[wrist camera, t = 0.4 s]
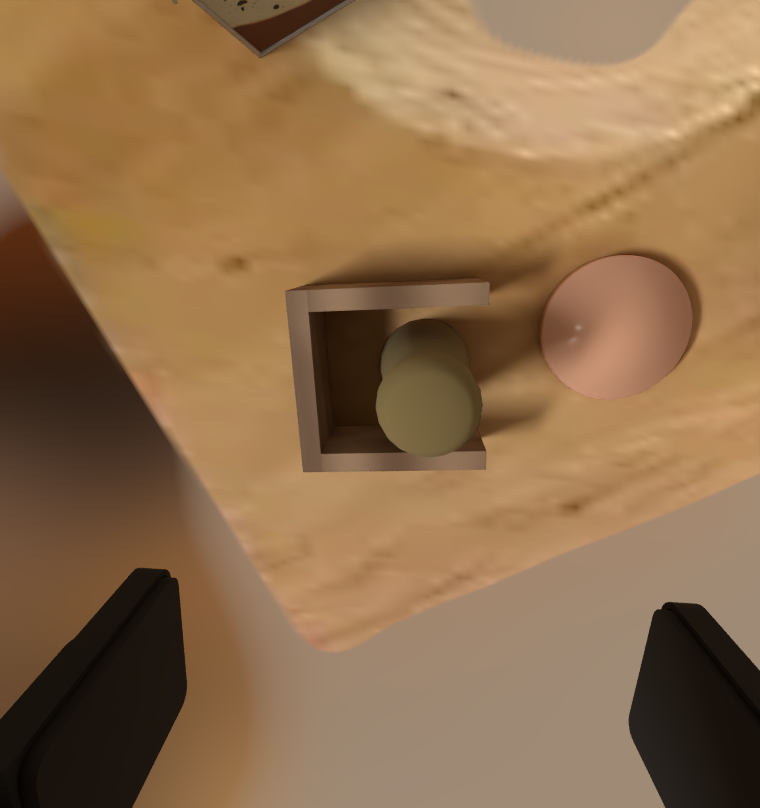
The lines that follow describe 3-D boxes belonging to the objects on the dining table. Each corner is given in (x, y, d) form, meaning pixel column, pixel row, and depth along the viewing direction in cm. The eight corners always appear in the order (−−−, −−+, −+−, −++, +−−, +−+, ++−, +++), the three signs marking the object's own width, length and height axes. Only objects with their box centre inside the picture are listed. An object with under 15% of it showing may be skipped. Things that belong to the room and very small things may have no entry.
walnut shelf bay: (477, 277, 31) (489, 282, 26) (475, 439, 34) (485, 469, 29) (304, 285, 32) (285, 290, 27) (317, 442, 35) (303, 472, 30)
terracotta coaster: (693, 251, 30) (702, 251, 29) (674, 393, 32) (682, 397, 31) (542, 258, 30) (547, 258, 29) (535, 397, 33) (539, 401, 32)
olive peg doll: (480, 390, 33) (512, 454, 23) (396, 417, 34) (389, 491, 24) (453, 306, 32) (474, 332, 21) (366, 336, 33) (345, 376, 22)
